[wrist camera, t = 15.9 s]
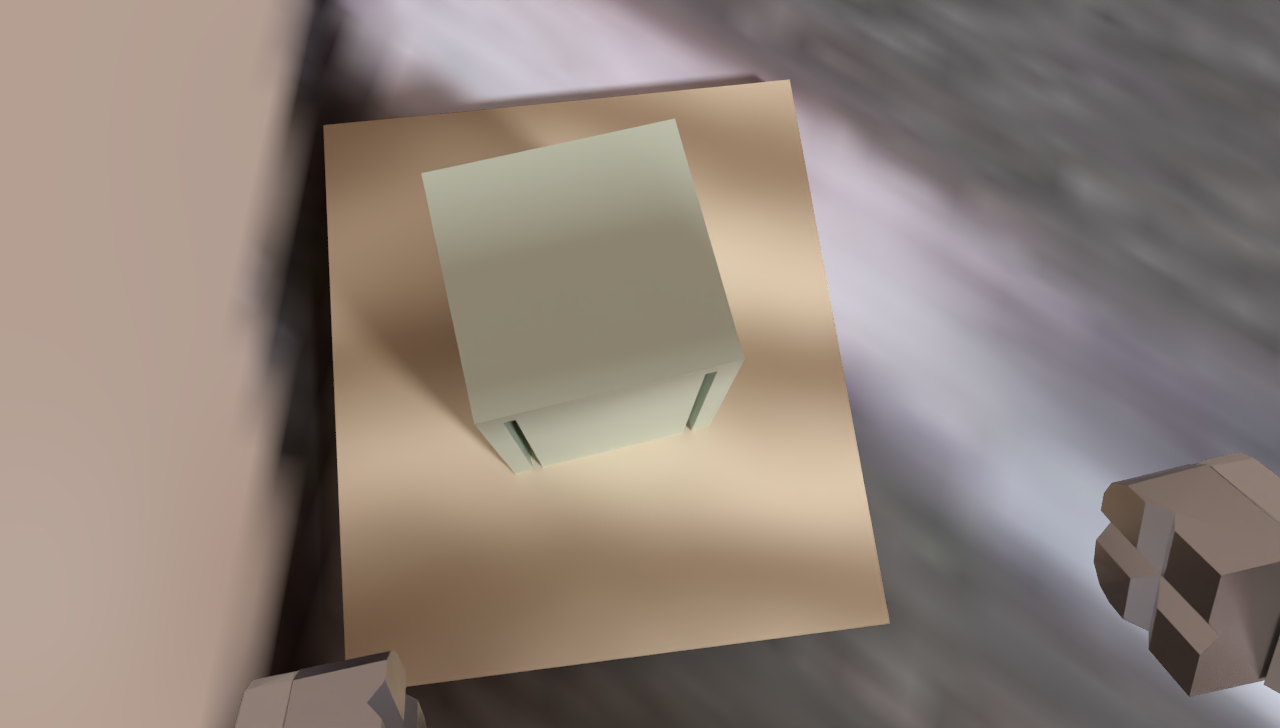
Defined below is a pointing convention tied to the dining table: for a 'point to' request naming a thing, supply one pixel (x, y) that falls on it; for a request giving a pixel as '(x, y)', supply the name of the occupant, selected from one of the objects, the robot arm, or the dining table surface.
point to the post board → (606, 482)
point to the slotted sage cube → (583, 295)
